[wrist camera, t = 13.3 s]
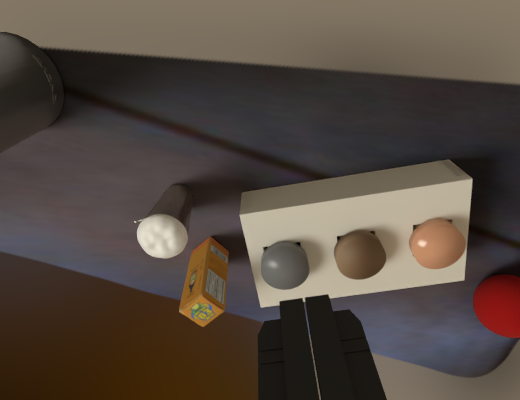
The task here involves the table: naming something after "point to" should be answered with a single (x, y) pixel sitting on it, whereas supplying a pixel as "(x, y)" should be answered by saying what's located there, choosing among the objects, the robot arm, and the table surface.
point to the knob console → (357, 226)
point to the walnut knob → (359, 255)
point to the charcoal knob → (284, 265)
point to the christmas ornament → (499, 304)
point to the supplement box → (205, 283)
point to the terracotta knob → (436, 244)
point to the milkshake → (167, 223)
